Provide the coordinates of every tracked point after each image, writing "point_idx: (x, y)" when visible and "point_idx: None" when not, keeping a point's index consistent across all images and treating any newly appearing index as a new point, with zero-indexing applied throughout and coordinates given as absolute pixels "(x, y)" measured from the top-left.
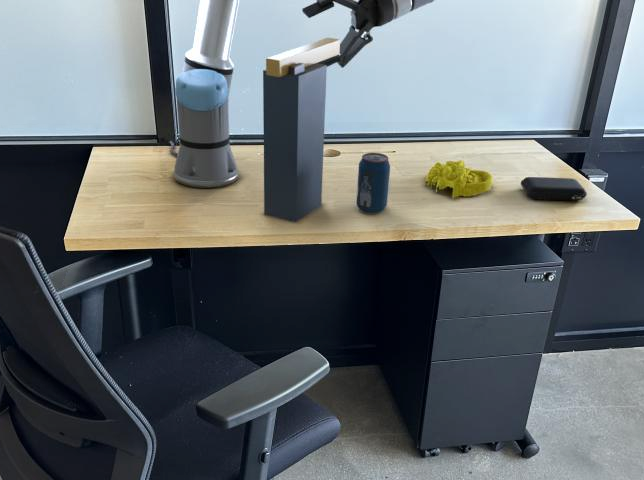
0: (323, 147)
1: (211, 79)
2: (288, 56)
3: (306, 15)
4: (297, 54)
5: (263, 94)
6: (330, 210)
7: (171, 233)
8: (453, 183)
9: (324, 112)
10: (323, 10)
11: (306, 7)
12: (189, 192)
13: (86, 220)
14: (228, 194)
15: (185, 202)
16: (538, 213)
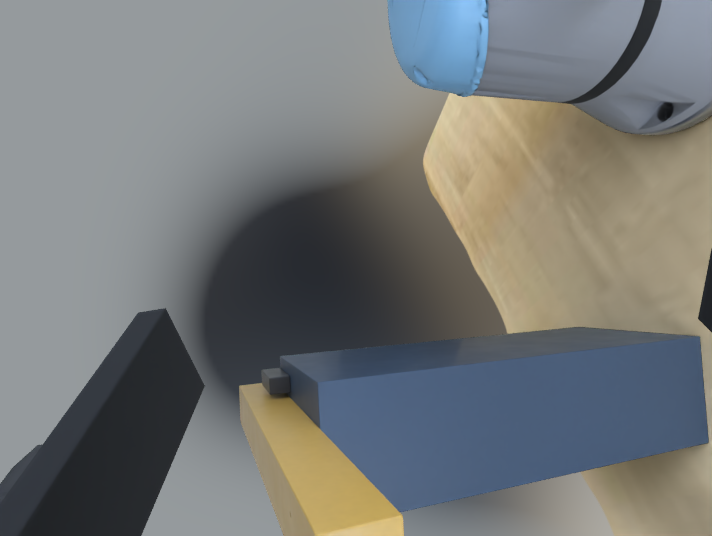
0: (569, 473)
1: (418, 19)
2: (245, 430)
3: (188, 357)
4: (250, 447)
5: (335, 351)
6: (690, 477)
7: (468, 239)
8: None
9: (471, 494)
10: (140, 514)
11: (124, 343)
12: (577, 111)
13: (445, 117)
14: (618, 184)
15: (541, 155)
16: None
